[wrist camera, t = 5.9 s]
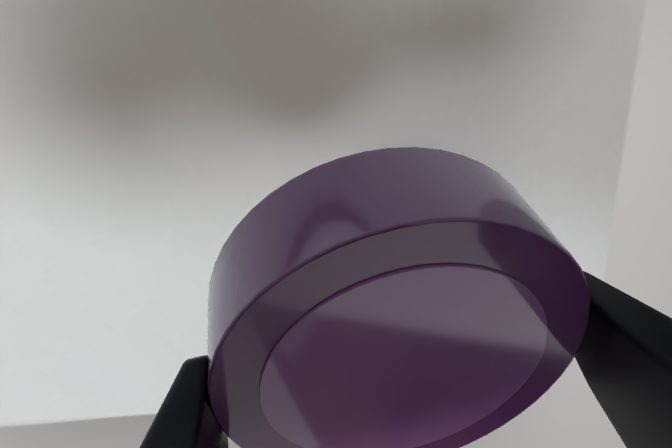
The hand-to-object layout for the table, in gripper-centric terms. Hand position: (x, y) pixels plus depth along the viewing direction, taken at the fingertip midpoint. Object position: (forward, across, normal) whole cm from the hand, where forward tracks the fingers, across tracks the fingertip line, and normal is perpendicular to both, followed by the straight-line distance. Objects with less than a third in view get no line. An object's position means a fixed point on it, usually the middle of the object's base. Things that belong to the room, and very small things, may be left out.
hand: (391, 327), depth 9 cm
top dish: (+1, 0, 0) cm, 1 cm away
